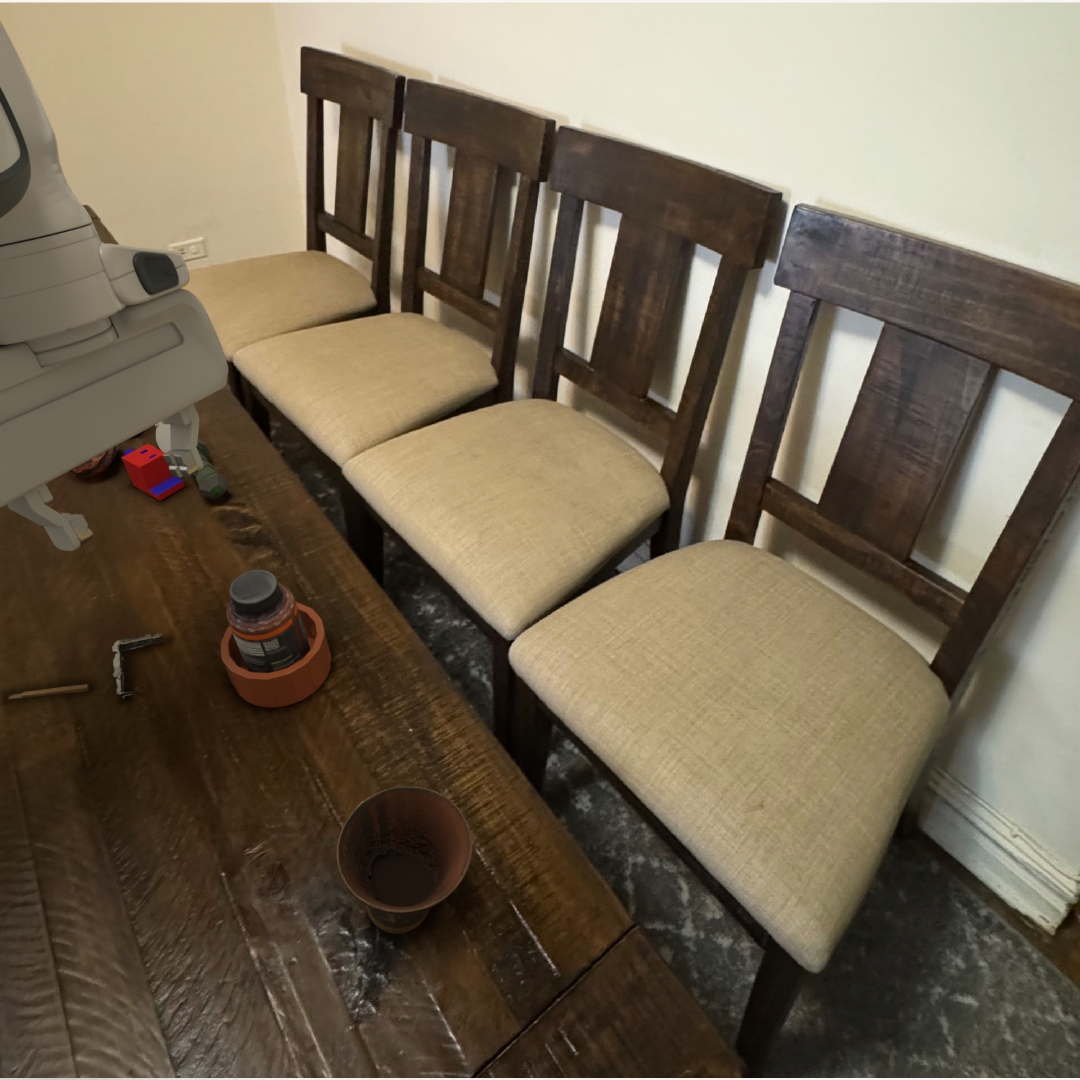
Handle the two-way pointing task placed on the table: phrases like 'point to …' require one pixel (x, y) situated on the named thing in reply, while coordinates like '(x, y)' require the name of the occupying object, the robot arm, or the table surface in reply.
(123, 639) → the l-shaped bracket
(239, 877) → the table surface
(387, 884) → the cup
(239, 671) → the holder
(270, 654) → the supplement bottle
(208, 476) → the knife
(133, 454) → the toy building block
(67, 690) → the stick
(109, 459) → the pastry
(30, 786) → the table surface
